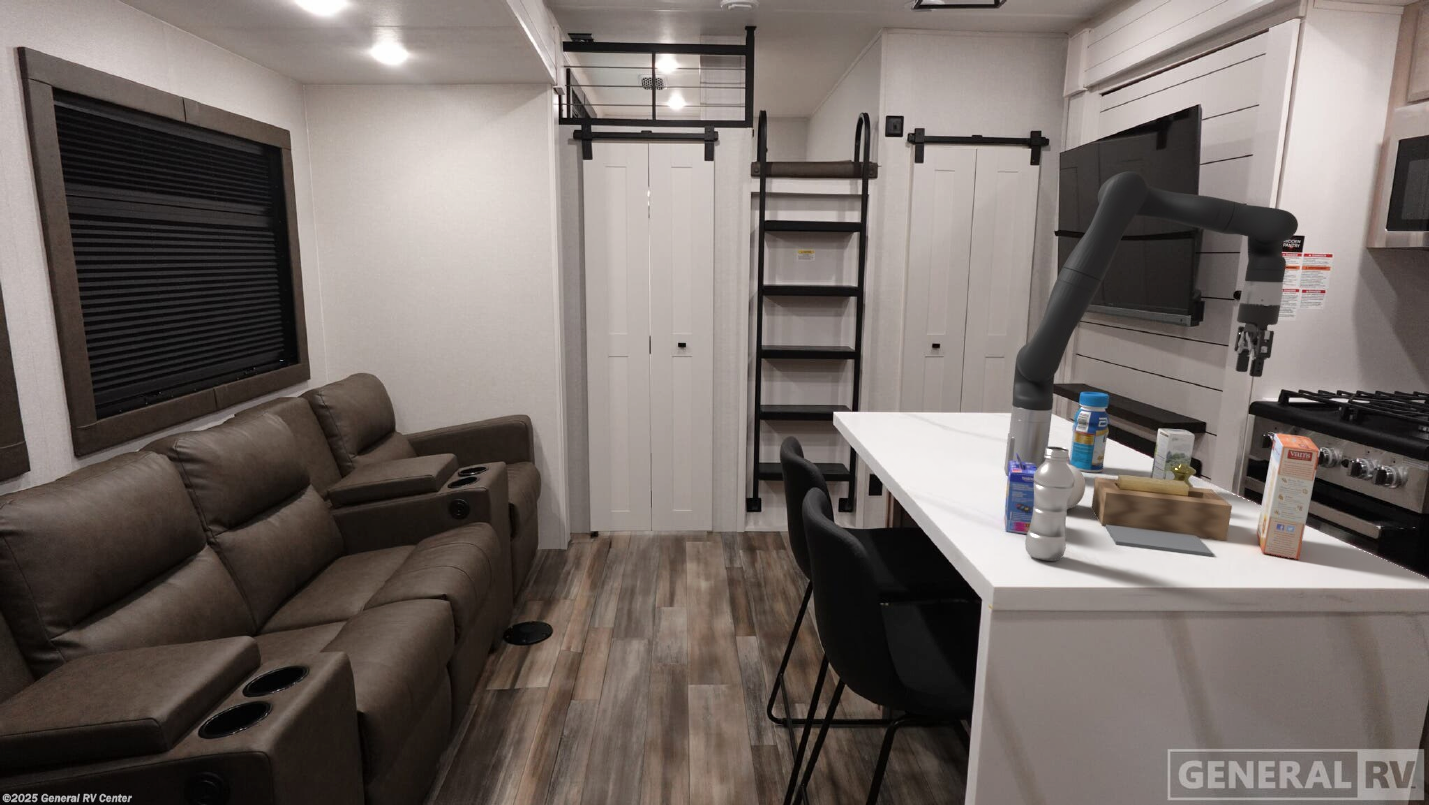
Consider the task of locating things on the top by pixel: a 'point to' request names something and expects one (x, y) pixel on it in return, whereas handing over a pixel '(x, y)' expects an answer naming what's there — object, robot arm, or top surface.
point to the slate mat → (1158, 540)
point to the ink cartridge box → (1019, 496)
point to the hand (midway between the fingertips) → (1248, 374)
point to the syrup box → (1171, 451)
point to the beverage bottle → (1090, 432)
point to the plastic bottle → (1050, 506)
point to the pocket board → (1162, 510)
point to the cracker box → (1287, 495)
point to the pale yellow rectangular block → (1152, 485)
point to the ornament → (1076, 486)
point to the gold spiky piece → (1182, 473)
